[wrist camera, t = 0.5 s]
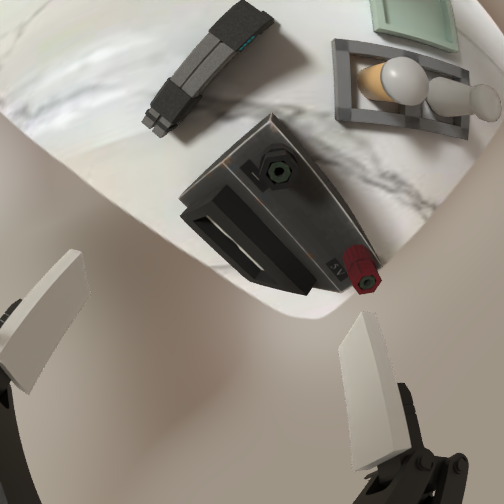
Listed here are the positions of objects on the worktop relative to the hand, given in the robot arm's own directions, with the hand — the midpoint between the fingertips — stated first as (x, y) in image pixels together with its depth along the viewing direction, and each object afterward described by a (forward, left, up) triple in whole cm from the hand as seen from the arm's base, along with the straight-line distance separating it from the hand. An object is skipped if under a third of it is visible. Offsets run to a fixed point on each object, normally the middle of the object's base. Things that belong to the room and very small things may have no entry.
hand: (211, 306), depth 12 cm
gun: (-13, -5, -28) cm, 31 cm away
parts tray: (-26, +23, -27) cm, 44 cm away
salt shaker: (-11, +26, -28) cm, 40 cm away
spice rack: (-11, +21, -27) cm, 36 cm away
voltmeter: (+5, +1, -28) cm, 28 cm away
